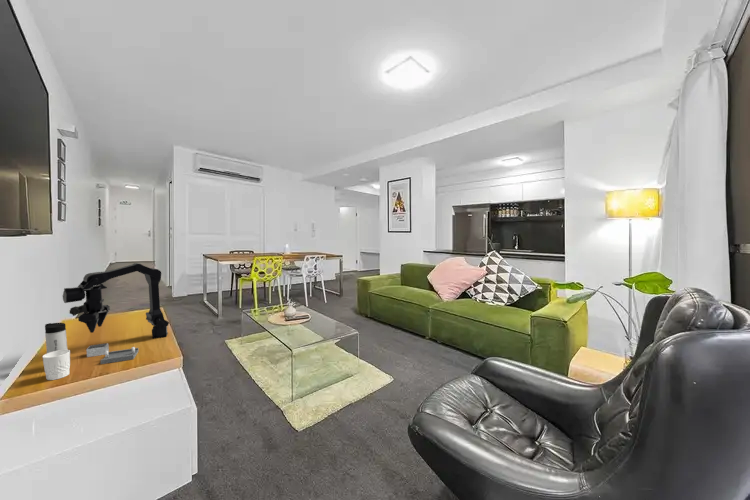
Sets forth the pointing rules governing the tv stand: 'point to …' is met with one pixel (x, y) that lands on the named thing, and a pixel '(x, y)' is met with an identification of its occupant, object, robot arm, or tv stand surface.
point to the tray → (119, 355)
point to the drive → (97, 349)
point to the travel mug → (55, 337)
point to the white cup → (57, 364)
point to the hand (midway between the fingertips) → (96, 329)
